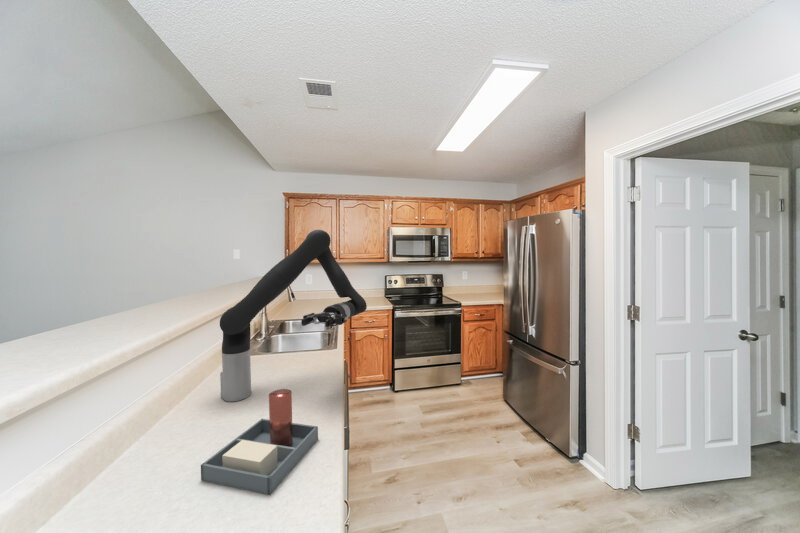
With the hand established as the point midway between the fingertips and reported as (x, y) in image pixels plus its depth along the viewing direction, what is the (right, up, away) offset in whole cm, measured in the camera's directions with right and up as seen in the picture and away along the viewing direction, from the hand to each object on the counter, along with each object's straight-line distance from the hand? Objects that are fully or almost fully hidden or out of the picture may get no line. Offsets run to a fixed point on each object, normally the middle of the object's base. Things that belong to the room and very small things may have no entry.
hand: (314, 323), depth 96 cm
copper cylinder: (-4, -29, -17) cm, 34 cm away
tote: (-6, -31, -21) cm, 38 cm away
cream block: (-7, -30, -26) cm, 40 cm away
